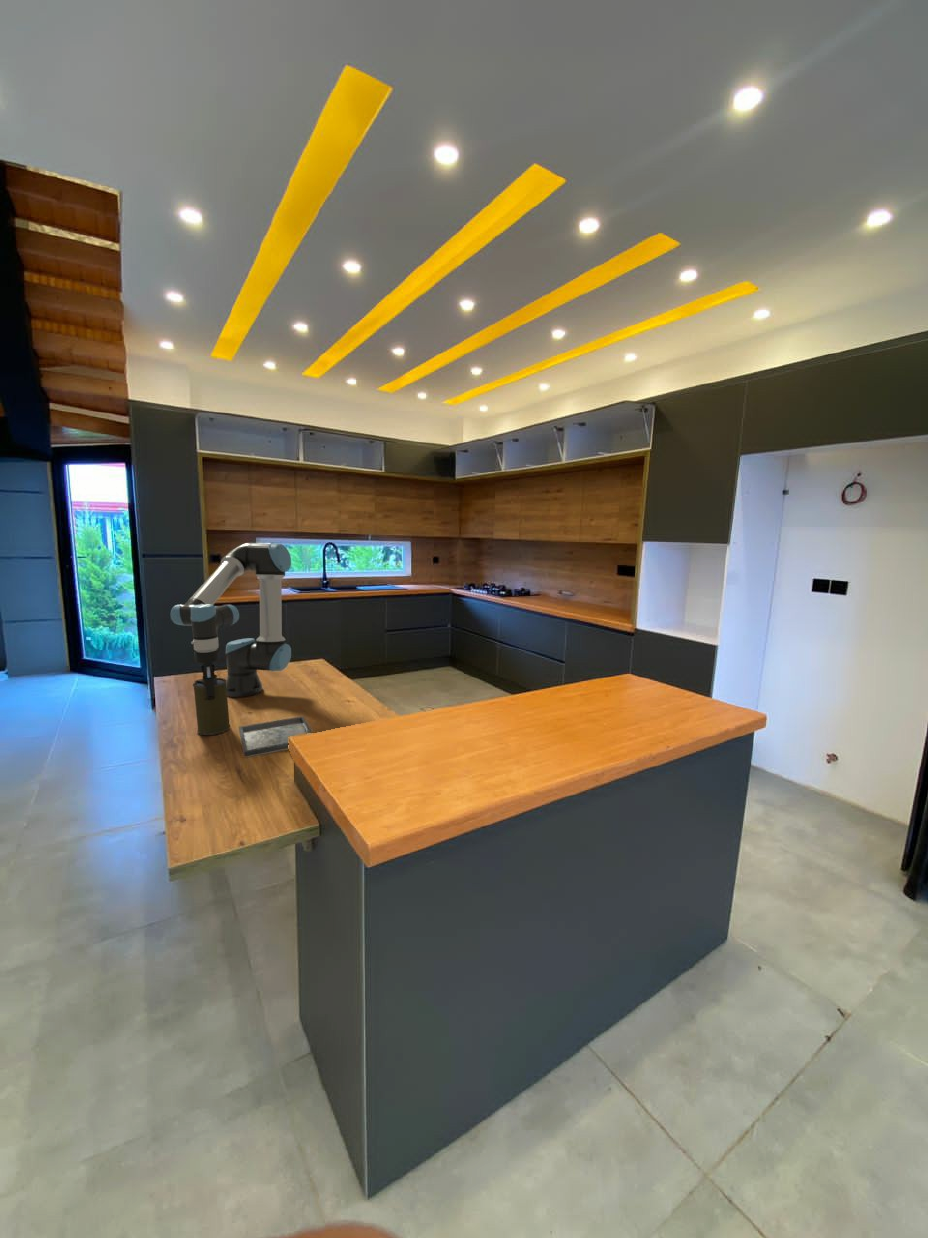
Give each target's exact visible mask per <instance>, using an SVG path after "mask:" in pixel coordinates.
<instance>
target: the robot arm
mask: <svg viewBox="0 0 928 1238" xmlns="http://www.w3.org/2000/svg"><path fill="white" fill-rule="evenodd" d="M291 558H292V557H291V554H290V551H289V550H288V547H286V545H284V544H283V543H275V542H246V543H242V544H240V545H238V546H237V547H234V548H233V549H231V550H230V551H229V552H227V554H225V555H224V556H223V558H222V559H221V560H220V564H219V566H218V567H217V568H216V570H215V571H213V573H212V574H211V575H210V576H209V577H208V578H207V579H206V580H205V581H204V582H203V584H202V585H201V586H200V587H199V588H198V589H197V590H196V591H195V592H194V593H193V595H192V596H191V597H190V598H189V599H188V600H187V601H186V602H185V603H184V604H183V603H180V604H176V605H174V606H173V607H172V608H171V610H170V620H171V621H172V622H173V623H174V624H175V625H178V626H185V627H186V626H187V627H188V626H189V627H190V626H191V628H192V629H191V630H192V638H193V639H192V641H191V642H190V643H191V645H193V650H194V652H193V653H194V656H193V657H194V661H195V663H196V664H197V663H198V664H203V665H201V673H202V678H203V679H204V680H205V683H206V695H207V698H206V699H207V700H213V699H215V693H214V682H213V679H214V678H215V676H214V674H215V671H216V667H215V664H213V663H215V662H218V661H219V660H220V658H221V657H220V650H219V647H220V646H219V645H220V643H219V635H218V630H219V629H220V630H221V629H222V628H223V629H224V628H227V627H230V626H232V625H234V624H236V623H237V622H238V621H239V619H240V612H239V609H237V607H236V606H235V605H232V604H222V605H215V603H216V602H217V601H218V600H219V598H220V597H222V595H223V594H224V592H225V591H226V590H227V589H228V588H229V587H230V586H231V584H232V583H233V582H234V581H235V580H236V579H237V578H238V577H240V576H242V575H243V574H244V573H245V572H248V571H255V576H256V577H257V578H258V579H259V636H258V637H257V638H256V640H255V638H254V637H251V638H250V637H248V638H241V639H240V638H239V639H236V640H231V641H229V642H227V644H225V656H226V657H225V658H226V668H227V670H226V671H227V678H226V680H227V682H226V689H227V697H228V698H245V697H251V696H254V695H258V694H260V693H261V692H262V691H263V684H262V681H261V679H260V677H259V675H258V671H268V672H269V671H271V672H282V671H283V670H285V669H286V668H287V667H288V665H289V663H290V661H291V657H292V648H291V646H290V644H288V643H286V638H285V637H284V636H283V634H282V633H283V632H282V630H283V627H282V623H283V620H282V619H283V618H282V615H283V614H282V609H283V608H282V607H283V605H282V597H283V596H282V595H283V594H282V582H283V581H282V580H283V578H284V577H286V572H288V571H289V570H291V569H290V568H291V565H292V559H291ZM206 699H204V700H206Z"/></svg>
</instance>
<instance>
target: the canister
mask: <svg viewBox="0 0 928 1238" xmlns="http://www.w3.org/2000/svg"><path fill="white" fill-rule="evenodd" d="M214 676H215V678H214V679H213V682H214V693H215V699H213V700H207V699H206V698H207V695H206V683H205V680H204V679H203V677H202V678H199V679H196V680H194V682H193V684H192V686H193V692H194V701H195V713H196V722H197V723H196V724H197V730H196V731H197V734H199V735H202V736H213V735H218V734H222V733H224V732H226V731H229V729H230V728H231V724H230V713H229V705H228V704H229V702H228V696H227V689H226V682H227V678H223V677H218V674H215V673H214ZM204 699H206V700H204Z"/></svg>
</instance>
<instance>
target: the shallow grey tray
mask: <svg viewBox="0 0 928 1238" xmlns="http://www.w3.org/2000/svg"><path fill="white" fill-rule="evenodd" d="M307 733H313V734H314V732H313V731H312V728H311V727H310V725H309V723H308V722H307V720H306V718H305V715H304V716H297V717H292V718H291V717H290V718H285V719H279V720H272V721H265V722H258V723H254V724H246V725H241V726H238V734H239V737H240V742H241V747H242V752H243V757H244V758H251V757H255V756H261V755H265V754H270V753H276V752H283V751H286V750H289V749H288V745H289V743H288V737H290V736H295V735H300V734H307Z"/></svg>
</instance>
